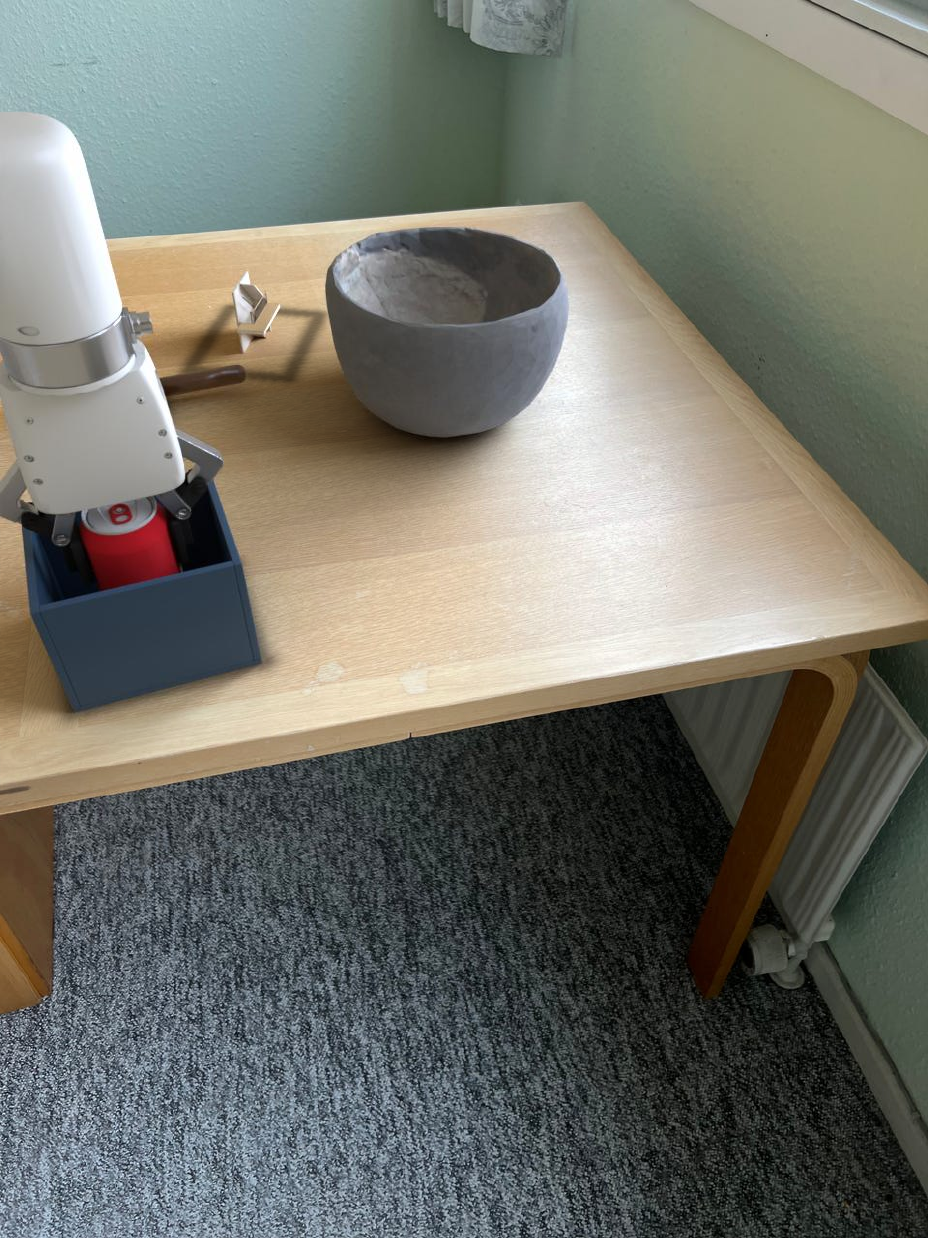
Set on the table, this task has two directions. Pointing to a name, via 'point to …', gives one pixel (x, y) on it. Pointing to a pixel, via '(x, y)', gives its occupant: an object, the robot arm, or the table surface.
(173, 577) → the bin
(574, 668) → the table surface
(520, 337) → the bowl
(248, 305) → the architectural model
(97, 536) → the beverage can
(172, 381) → the pan
